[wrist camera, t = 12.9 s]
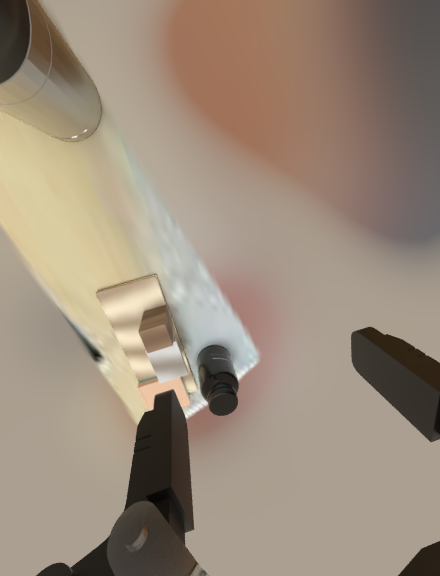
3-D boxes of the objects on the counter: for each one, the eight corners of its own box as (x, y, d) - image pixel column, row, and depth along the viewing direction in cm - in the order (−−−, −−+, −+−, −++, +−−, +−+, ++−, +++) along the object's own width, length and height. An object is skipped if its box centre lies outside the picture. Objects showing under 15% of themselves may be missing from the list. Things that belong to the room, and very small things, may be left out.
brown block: (140, 312, 42) (134, 333, 35) (168, 303, 42) (168, 322, 36) (161, 361, 46) (159, 388, 39) (186, 353, 46) (188, 378, 40)
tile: (137, 388, 45) (152, 417, 48) (178, 374, 46) (190, 404, 49) (138, 382, 47) (152, 410, 50) (178, 369, 47) (190, 398, 50)
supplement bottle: (222, 339, 48) (237, 381, 37) (233, 363, 51) (250, 410, 40) (191, 352, 48) (196, 399, 37) (204, 377, 51) (212, 427, 40)
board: (97, 290, 40) (95, 293, 39) (155, 274, 41) (155, 276, 40) (150, 401, 50) (150, 405, 49) (196, 386, 51) (197, 390, 50)
